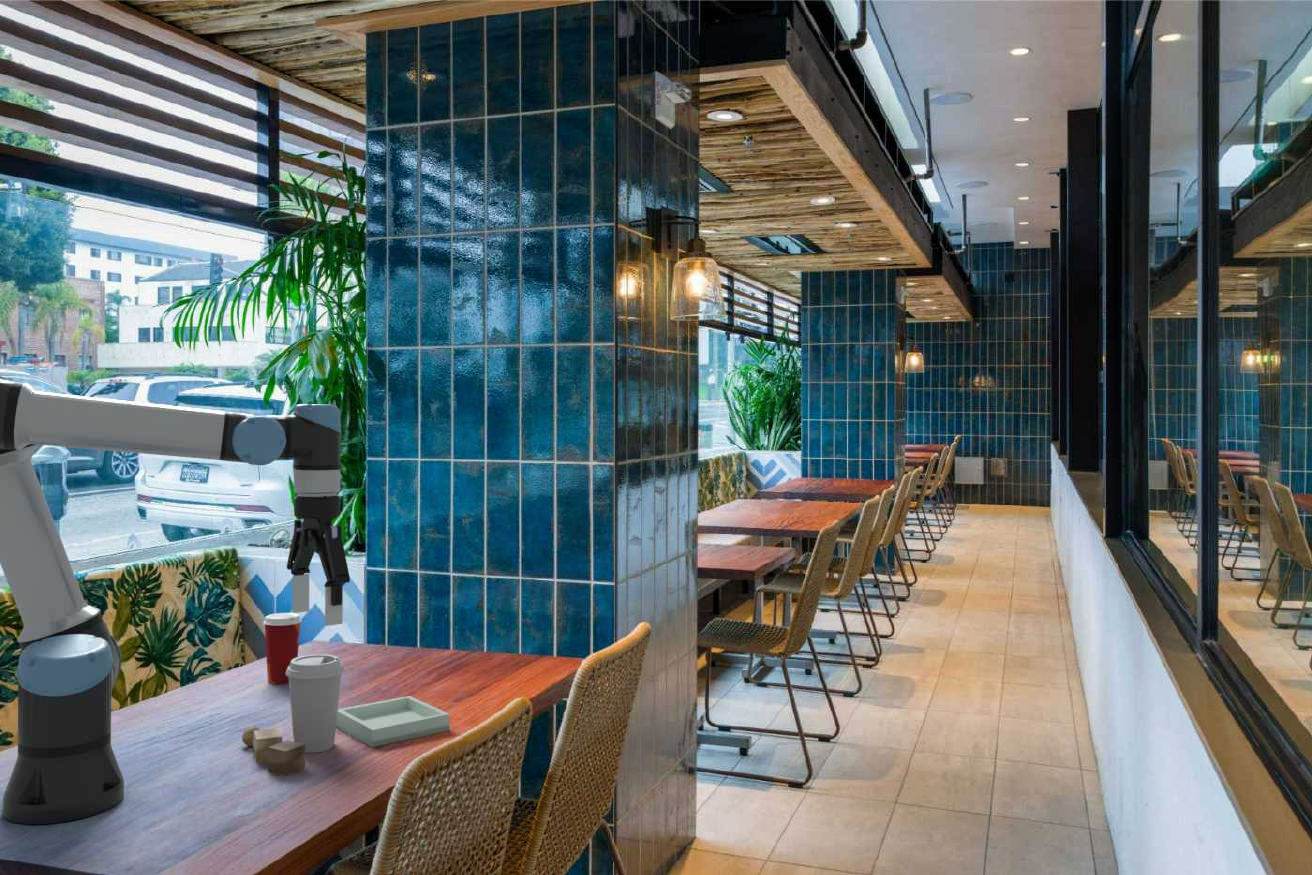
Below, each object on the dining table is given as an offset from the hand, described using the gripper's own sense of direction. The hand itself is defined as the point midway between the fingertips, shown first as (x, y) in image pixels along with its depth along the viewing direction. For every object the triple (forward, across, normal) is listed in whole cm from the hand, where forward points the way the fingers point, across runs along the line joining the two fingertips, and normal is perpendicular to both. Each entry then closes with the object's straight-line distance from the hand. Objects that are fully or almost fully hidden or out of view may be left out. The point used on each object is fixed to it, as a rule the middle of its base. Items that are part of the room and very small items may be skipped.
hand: (316, 618), depth 171 cm
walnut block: (+22, -8, +8) cm, 25 cm away
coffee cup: (+22, 0, 0) cm, 22 cm away
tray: (+22, +1, -15) cm, 27 cm away
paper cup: (+22, +45, -12) cm, 52 cm away
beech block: (+22, 0, +8) cm, 24 cm away
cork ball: (+22, +7, +8) cm, 25 cm away
